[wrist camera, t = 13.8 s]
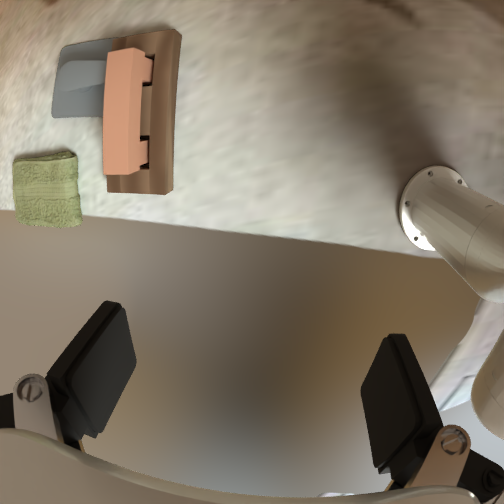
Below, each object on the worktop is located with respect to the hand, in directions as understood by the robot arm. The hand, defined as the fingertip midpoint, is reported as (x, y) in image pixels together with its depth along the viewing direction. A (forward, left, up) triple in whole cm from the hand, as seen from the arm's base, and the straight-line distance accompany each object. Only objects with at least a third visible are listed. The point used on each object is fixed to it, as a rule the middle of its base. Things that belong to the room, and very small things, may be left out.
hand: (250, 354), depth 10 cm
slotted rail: (+18, -9, -30) cm, 36 cm away
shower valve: (+28, -15, -31) cm, 44 cm away
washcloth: (+38, +3, -31) cm, 49 cm away
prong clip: (+18, -9, -30) cm, 36 cm away
